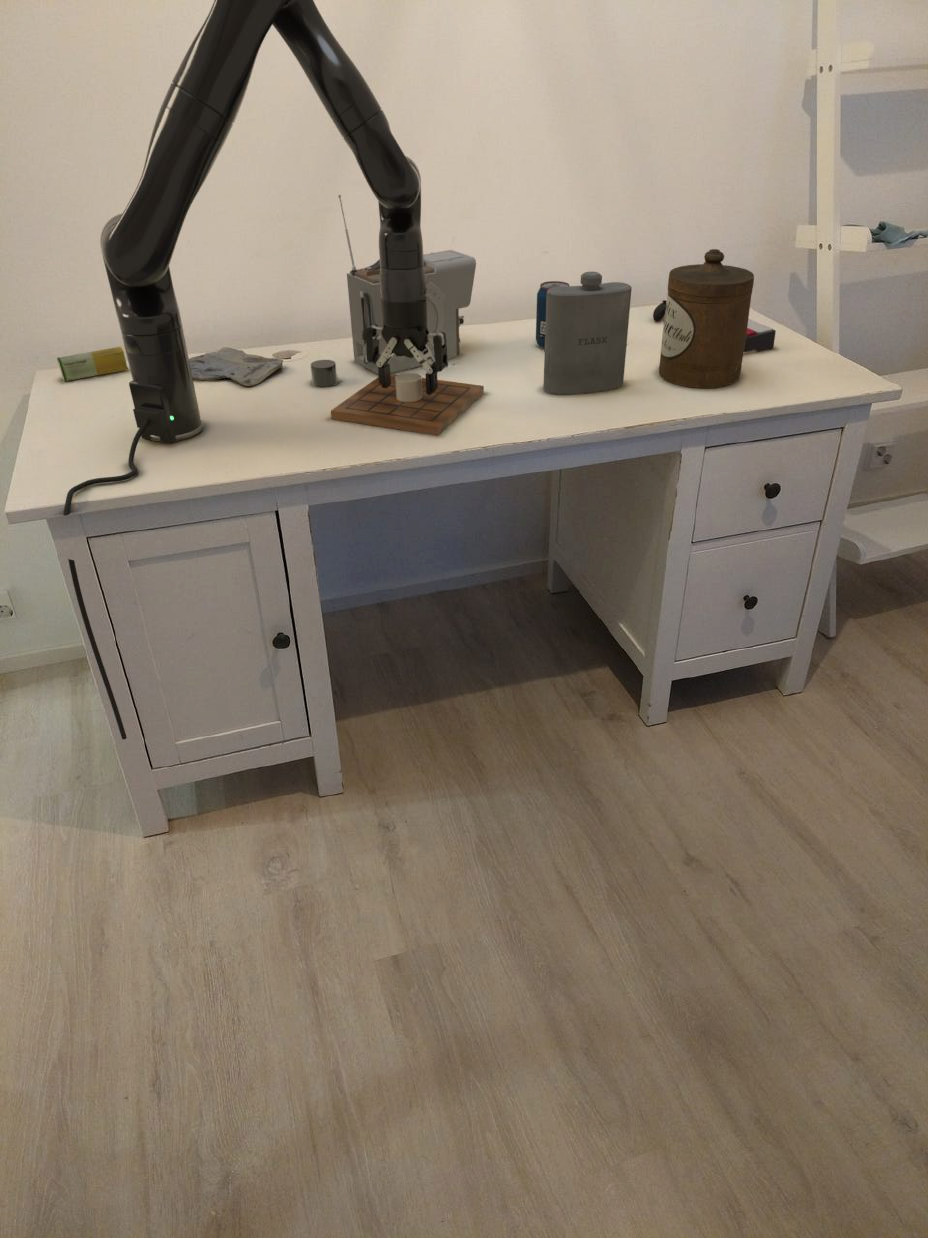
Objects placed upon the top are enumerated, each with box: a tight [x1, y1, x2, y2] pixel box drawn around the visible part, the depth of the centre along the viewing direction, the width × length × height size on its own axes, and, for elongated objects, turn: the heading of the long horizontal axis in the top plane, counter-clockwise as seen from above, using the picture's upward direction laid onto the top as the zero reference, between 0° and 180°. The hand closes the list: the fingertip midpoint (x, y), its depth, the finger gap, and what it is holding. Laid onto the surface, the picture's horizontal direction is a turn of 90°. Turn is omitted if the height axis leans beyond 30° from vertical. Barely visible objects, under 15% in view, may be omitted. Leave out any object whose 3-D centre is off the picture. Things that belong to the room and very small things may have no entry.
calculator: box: [744, 318, 777, 354], centre depth 177 cm, size 11×4×15 cm
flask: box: [542, 271, 633, 396], centre depth 155 cm, size 15×6×20 cm, turn 103°
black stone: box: [310, 359, 338, 388], centre depth 165 cm, size 5×5×4 cm
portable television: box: [337, 193, 477, 375], centre depth 168 cm, size 12×24×30 cm, turn 124°
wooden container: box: [658, 248, 755, 389], centre depth 159 cm, size 15×15×22 cm
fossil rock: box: [189, 346, 284, 387], centre depth 170 cm, size 18×15×2 cm
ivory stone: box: [395, 372, 423, 402], centre depth 154 cm, size 5×5×4 cm
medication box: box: [56, 346, 129, 382], centre depth 170 cm, size 12×3×4 cm, turn 118°
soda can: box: [535, 280, 570, 350], centre depth 178 cm, size 7×7×12 cm
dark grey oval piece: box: [652, 299, 667, 323], centre depth 194 cm, size 10×5×6 cm
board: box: [330, 373, 485, 436], centre depth 155 cm, size 20×20×2 cm
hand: (408, 389), depth 154 cm, fingers open, 8 cm apart
